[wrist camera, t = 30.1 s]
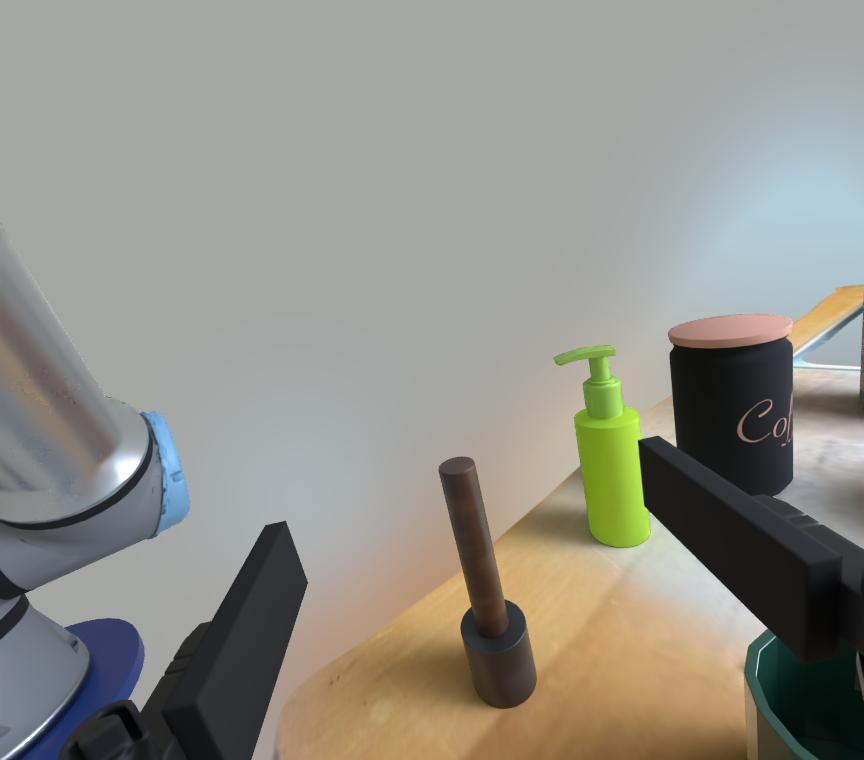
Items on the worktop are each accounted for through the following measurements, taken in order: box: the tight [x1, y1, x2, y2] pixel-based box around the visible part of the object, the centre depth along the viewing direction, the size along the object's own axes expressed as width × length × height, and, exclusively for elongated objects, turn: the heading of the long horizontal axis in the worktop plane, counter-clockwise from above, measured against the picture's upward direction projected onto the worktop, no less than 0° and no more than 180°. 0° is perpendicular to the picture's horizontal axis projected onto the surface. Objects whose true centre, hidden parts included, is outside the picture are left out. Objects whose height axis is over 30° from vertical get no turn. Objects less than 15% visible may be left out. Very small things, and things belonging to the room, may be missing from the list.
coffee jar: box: [668, 314, 793, 497], centre depth 46 cm, size 11×11×18 cm
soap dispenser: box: [554, 345, 650, 547], centre depth 42 cm, size 6×7×20 cm
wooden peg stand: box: [439, 457, 537, 708], centre depth 29 cm, size 5×5×18 cm
